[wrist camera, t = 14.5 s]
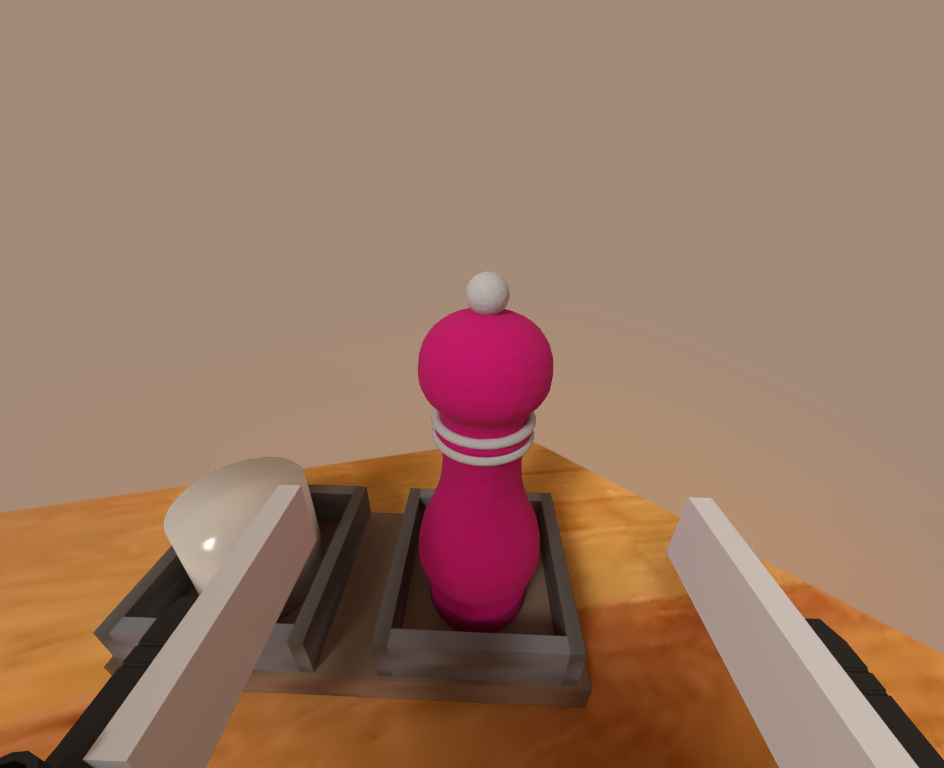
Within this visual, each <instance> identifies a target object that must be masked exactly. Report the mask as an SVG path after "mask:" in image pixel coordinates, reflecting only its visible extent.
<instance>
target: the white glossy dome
mask: <svg viewBox="0 0 944 768" xmlns="http://www.w3.org/2000/svg"><path fill="white" fill-rule="evenodd" d="M278 485H301V487H302V491H303V494H304V498H305V501H306V505H307V508H308V512H309V516H310V519H311V523H312V526H313V530H314V533H315V537H316V542H315V544H314V546H313V548H312V550H311V552H310V554H309V556H308V558H307V560H306V562H305V564H304V566H303V568H302V571H301V573H300V575H299V577H298V579H297V581H296V583H295V585H294V587H293V589H292V591H291V593H290V595H289V597H288V599H287V601H286V603H285V605H284V607H283V610H282V612H281V614H280V616H279V618H281V617H283V616H285V615H286V614H288V613H289V612H291V611H292V610H293V609H295V608H296V607H297V606H298V605H300V604H301V603H302V602H303V601H304V600H305V599H306V597H307V595H308V593H309V590H310V588H311V586H312V584H313V581H314V579H315V577H316V575H317V572H318V570H319V568H320V566H321V564H322V561H323V559H324V557H325V555H326V552H325V548H324V544H323V540H322V536H321V532H320V529H319V525H318V521H317V517H316V514H315V510H314V506H313V502H312V498H311V495H310V491H309V487H308V483H307V480H306V476H305V473H304V471H303V469H302V468H301V467H300V466H299V465H298V464H297V463H295V462H293V461H291V460H288V459H284V458H277V457H263V458H255V459H250V460H245V461H241V462H238V463H234V464H231V465H229V466H226V467H223V468H222V469H219V470H217V471H214V472H213V473H211V474H209V475H207V476H205V477H204V478H202V479H200V480H198V481H197V482H196V483H194V484H193V485H191V486H190V487H189V488H187V489H186V490H185V491H184V492H183V493H182V494H181V495H180V496H179V497H178V498H177V499H176V500H175V501H174V502H173V504H172V505H171V506H170V508H169V510H168V511H167V513H166V516H165V519H164V531H165V533H166V535H167V537H168V539H169V541H170V543H171V545H172V546H173V548H174V550H175V552H176V554H177V555H178V557H179V559H180V561H181V563H182V565H183V566H184V568H185V570H186V572H187V574H188V575H189V577H190V579H191V581H192V583H193V585H194V586H195V588H196V590H197V592H198V594H199V595H200V594H201V593H202V592H203V590H204V589H205V587H206V586H207V585H208V583H209V582H210V580H211V579H212V577H213V576H214V575H215V573H216V572H217V570H218V569H219V568H220V566H221V565H222V563H223V562H224V561H225V559H226V558H227V556H228V555H229V554H230V552H231V551H232V549H233V548H234V547H235V545H236V544H237V542H238V541H239V540H240V538H241V537H242V535H243V534H244V533H245V531H246V530H247V528H248V527H249V526H250V524H251V523H252V521H253V520H254V519H255V517H256V516H257V514H258V513H259V512H260V510H261V509H262V507H263V506H264V505H265V503H266V502H267V500H268V499H269V498H270V496H271V495H272V493H273V492H274V491H275V489H276V488H277V486H278ZM279 618H278V619H279Z"/></svg>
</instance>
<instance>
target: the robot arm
mask: <svg viewBox="0 0 944 768" xmlns="http://www.w3.org/2000/svg"><path fill="white" fill-rule="evenodd" d="M315 542H316V537H315V533H314V530H313V526H312V523H311V519H310V516H309V512H308V508H307V505H306V501H305V498H304V494H303V491H302V487H301V485H278V486H277V488H276V489H275V491H274V492H273V493H272V495H271V496H270V498H269V499H268V500H267V502H266V503H265V505H264V506H263V507H262V509H261V510H260V512H259V513H258V514H257V516H256V517H255V519H254V520H253V521H252V523H251V524H250V526H249V527H248V528H247V530H246V531H245V533H244V534H243V535H242V537H241V538H240V540H239V541H238V542H237V544H236V545H235V547H234V548H233V549H232V551H231V552H230V554H229V555H228V556H227V558H226V559H225V561H224V562H223V563H222V565H221V566H220V568H219V569H218V570H217V572H216V573H215V575H214V576H213V577H212V579H211V580H210V582H209V583H208V585H207V586H206V587H205V589H204V590H203V592H202V593H201V594H200V596H199V597H181V598H179V599H178V600H177V601H176V602H175V603H174V604H172V605H171V606H170V607H169V608H168V609H167V610H165V611H164V612H163V613H162V614H161V615H160V616H158V617H157V619H156V620H155V621H154V623H153V624H152V625H151V626H150V628H149V629H148V630H147V632H146V633H145V634H144V635H143V637H142V638H141V639H140V641H139V644H138V645H137V646H135V647H134V648H133V650H132V651H131V652H130V653H129V655H128V656H127V657H126V659H125V660H124V661H123V665H122V666H121V667H119V668H118V669H117V670H116V671H115V673H114V674H113V675H112V677H111V678H110V679H109V680H108V682H107V683H106V684H105V686H104V687H103V688H102V689H101V691H100V692H99V693H98V695H97V696H96V697H95V698H94V700H93V701H92V702H91V704H90V705H89V706H88V708H87V709H86V710H85V711H84V713H83V714H82V715H81V717H80V718H79V719H78V720H77V722H76V723H75V724H74V726H73V727H72V728H71V729H70V731H69V732H68V733H67V735H66V736H65V737H64V738H63V740H62V741H61V742H60V744H59V745H58V746H57V747H56V749H55V750H54V751H53V752H52V753H51V754H50V756H49V757H48V758H47V759H46V760H45V761H42V760H41V759H39V758H38V757H37V756H35V755H34V754H32V753H31V752H29V751H22V752H12V753H10V754H8V755H5V756H3V757H1V758H0V768H206V766H207V764H208V762H209V759H210V757H211V755H212V753H213V751H214V749H215V747H216V745H217V743H218V741H219V739H220V737H221V735H222V733H223V731H224V729H225V727H226V725H227V723H228V720H229V718H230V716H231V714H232V712H233V710H234V708H235V706H236V704H237V702H238V700H239V698H240V696H241V694H242V692H243V690H244V688H245V686H246V683H247V681H248V679H249V677H250V675H251V673H252V671H253V669H254V667H255V665H256V663H257V661H258V659H259V657H260V655H261V653H262V651H263V649H264V647H265V644H266V642H267V640H268V638H269V636H270V634H271V632H272V630H273V628H274V626H275V624H276V622H277V620H278V618H279V616H280V614H281V612H282V610H283V607H284V605H285V603H286V601H287V599H288V597H289V595H290V593H291V591H292V589H293V587H294V585H295V583H296V581H297V579H298V577H299V575H300V573H301V571H302V568H303V566H304V564H305V562H306V560H307V558H308V556H309V554H310V552H311V550H312V548H313V546H314V544H315ZM666 553H667V554H668V556H669V558H670V560H671V562H672V564H673V566H674V568H675V570H676V572H677V574H678V576H679V577H680V579H681V581H682V583H683V585H684V587H685V589H686V591H687V593H688V595H689V597H690V598H691V600H692V602H693V604H694V606H695V608H696V610H697V612H698V614H699V616H700V618H701V620H702V621H703V623H704V625H705V627H706V629H707V631H708V633H709V635H710V637H711V639H712V641H713V642H714V644H715V646H716V648H717V650H718V652H719V654H720V656H721V658H722V660H723V662H724V664H725V665H726V667H727V669H728V671H729V673H730V675H731V677H732V679H733V681H734V683H735V685H736V686H737V688H738V690H739V692H740V694H741V696H742V698H743V700H744V702H745V704H746V706H747V708H748V709H749V711H750V713H751V715H752V717H753V719H754V721H755V723H756V725H757V727H758V729H759V730H760V732H761V734H762V736H763V738H764V740H765V742H766V744H767V746H768V748H769V750H770V752H771V753H772V755H773V757H774V759H775V761H776V763H777V765H778V767H779V768H944V760H943V759H942V758H941V756H940V755H939V754H938V753H937V751H936V750H935V749H934V748H933V747H932V745H931V744H930V743H929V742H928V741H927V739H926V738H925V737H924V736H923V734H922V733H921V732H920V731H919V730H918V728H917V727H916V726H915V725H914V724H913V722H912V721H911V720H910V719H909V717H908V716H907V715H906V714H905V713H904V711H903V710H902V709H901V708H900V707H899V705H898V704H897V703H896V702H895V700H894V699H893V698H892V697H891V696H888V695H887V693H886V690H885V688H884V687H883V686H882V685H881V683H880V682H879V681H878V680H877V679H876V677H875V676H874V675H873V674H872V673H870V672H869V671H868V668H867V666H866V665H865V664H864V663H863V662H862V660H861V659H860V658H859V657H858V656H857V654H856V653H855V652H854V651H853V649H852V648H851V647H850V646H849V645H848V643H847V642H846V641H845V640H844V639H842V638H841V637H840V636H839V635H838V634H837V633H835V632H834V631H833V630H832V629H831V628H830V627H828V626H827V625H826V624H825V623H824V622H823V621H821V620H820V619H806V618H803V616H802V615H801V614H800V612H799V611H798V610H797V608H796V607H795V606H794V605H793V603H792V602H791V601H790V599H789V598H788V597H787V595H786V594H785V593H784V592H783V590H782V589H781V588H780V586H779V585H778V584H777V582H776V581H775V580H774V579H773V577H772V576H771V575H770V573H769V572H768V571H767V569H766V568H765V567H764V566H763V564H762V563H761V562H760V560H759V559H758V558H757V556H756V555H755V554H754V553H753V551H752V550H751V549H750V547H749V546H748V545H747V543H746V542H745V541H744V540H743V538H742V537H741V536H740V534H739V533H738V532H737V530H736V529H735V528H734V527H733V525H732V524H731V523H730V521H729V520H728V519H727V517H726V516H725V515H724V514H723V512H722V511H721V510H720V508H719V507H718V506H717V504H716V503H715V502H714V501H713V500H712V498H691V497H689V498H688V500H687V503H686V505H685V507H684V510H683V512H682V515H681V517H680V519H679V522H678V524H677V527H676V529H675V531H674V534H673V536H672V539H671V541H670V543H669V546H668V548H667V550H666Z"/></svg>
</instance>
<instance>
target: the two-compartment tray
mask: <svg viewBox="0 0 944 768" xmlns="http://www.w3.org/2000/svg"><path fill="white" fill-rule="evenodd" d="M308 487H309V491H310V495H311V498H312V502H313V506H314V510H315V514H316V517H317V521H318V525H319V529H320V532H321V536H322V540H323V544H324V548H325V552H326V555H325V557H324V559H323V561H322V564H321V566H320V568H319V570H318V572H317V575H316V577H315V579H314V581H313V584H312V586H311V588H310V590H309V593H308V595H307V597H306V599H305V600H304V601H303V602H302V603H301V604H300V605H298V606H297V607H296V608H295V609H293V610H292V611H291V612H289V613H288V614H286V615H285V616H283V617H281V618H279V619H278V620H277V622H276V624H275V626H274V628H273V630H272V632H271V634H270V636H269V638H268V640H267V642H266V644H265V647H264V649H263V651H262V653H261V655H260V657H259V659H258V661H257V663H256V665H255V667H254V669H253V671H252V673H251V675H250V677H249V679H248V681H247V683H246V686H245V688H244V690H243V691H252V692H273V693H294V694H315V695H335V696H356V697H377V698H397V699H418V700H439V701H460V702H480V703H501V704H522V705H543V706H563V707H584V708H585V707H586V704H587V701H588V699H589V696H590V693H591V691H592V690H591V685H590V680H589V676H588V671H587V667H586V662H585V660H586V657H587V653H586V649H585V644H584V640H583V635H582V631H581V626H580V622H579V617H578V613H577V609H576V604H575V600H574V595H573V591H572V586H571V582H570V577H569V573H568V569H567V564H566V560H565V555H564V551H563V546H562V542H561V537H560V533H559V529H558V524H557V520H556V515H555V511H554V506H553V502H552V497H551V493H526V495H527V497H528V500H529V502H530V504H531V506H532V508H533V510H534V512H535V515H536V519H537V523H538V528H539V532H540V551H539V560H538V565H537V568H536V570H535V573H534V575H533V576H532V578H531V580H530V581H529V583H528V584H527V585H526V591H525V598H524V602H523V605H522V607H521V609H520V611H519V613H518V614H517V616H516V617H515V618H514V619H513V620H512V621H511V622H510V623H509V624H508V625H507V626H505V627H503V628H502V629H500V630H498V631H496V632H493V633H480V632H462V631H459V630H458V629H456V628H454V627H452V626H451V625H449V624H448V623H447V622H446V621H445V620H444V619H443V618H442V617H441V616H440V614H439V613H438V612H437V610H436V608H435V606H434V604H433V601H432V598H431V592H430V580H429V579H428V577H427V575H426V573H425V571H424V569H423V567H422V564H421V560H420V554H419V535H420V527H421V523H422V519H423V516H424V512H425V509H426V507H427V505H428V503H429V501H430V499H431V497H432V495H433V494H434V492H435V490H436V489H413V488H411V490H410V494H409V497H408V501H407V505H406V509H405V513H404V514H393V513H371V511H370V505H369V499H368V493H367V487H358V486H331V485H308ZM199 596H200V595H199V594H198V592H197V590H196V588H195V586H194V585H193V583H192V581H191V579H190V577H189V575H188V574H187V572H186V570H185V568H184V566H183V565H182V563H181V561H180V559H179V557H178V555H177V554H176V552H175V550H174V548H173V546H171V547H170V548H169V549H168V550H167V552H166V553H165V554H164V555H163V556H162V557H161V558H160V559H159V560H158V562H157V563H156V564H155V565H154V566H153V567H152V568H151V569H150V570H149V572H148V573H147V574H146V575H145V576H144V577H143V578H142V579H141V580H140V581H139V583H138V584H137V585H136V586H135V587H134V588H133V589H132V590H131V591H130V593H129V594H128V595H127V596H126V597H125V598H124V599H123V600H122V601H121V603H120V604H119V605H118V606H117V607H116V608H115V609H114V610H113V611H112V612H111V614H110V615H109V616H108V617H107V618H106V619H105V620H104V621H103V622H102V624H101V625H100V626H99V627H98V628H97V629H96V630H95V631H94V632H93V633H94V634H95V636H96V637H97V638H98V639H99V640H100V641H101V642H102V643H103V645H104V646H105V647H106V648H107V649H108V650H109V651H110V652H111V654H112V655H113V657H112V658H111V659H110V660H109V662H108V663H107V664H106V665H105V667H104V668H105V669H106V670H107V671H108V672H109V673H110V674H111V675H113V674H114V673H115V671H116V670H117V669H118V668H119V667H121V666H122V665H123V661H124V660H125V659H126V657H127V656H128V655H129V653H130V652H131V651H132V650H133V648H134V647H135V646H137V645H138V644H139V641H140V639H141V638H142V637H143V635H144V634H145V633H146V632H147V630H148V629H149V628H150V626H151V625H152V624H153V623H154V621H155V620H156V619H157V617H158V616H160V615H161V614H162V613H163V612H164V611H165V610H167V609H168V608H169V607H170V606H171V605H172V604H174V603H175V602H176V601H177V600H178V599H179V598H181V597H199Z"/></svg>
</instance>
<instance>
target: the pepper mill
mask: <svg viewBox="0 0 944 768" xmlns="http://www.w3.org/2000/svg"><path fill="white" fill-rule="evenodd" d="M509 296H510V294H509V288H508V284H507V283H506V281H505V280H504V278H503V277H501V276H500V275H499V274H497V273H494V272H483V273H480V274H478V275H476V276H474V277H473V278H472V279H471V281H470V282H469V284H468V286H467V289H466V299H467V303H468V305H469V306H470V308H468V309H463V310H459V311H456V312H454V313H451V314H449V315H448V316H446V317H444V318H443V319H441V320H440V321H439V322H438V323H436V324H435V325H434V326H433V327H432V328H431V330H430V331H429V332H428V334H427V335H426V337H425V339H424V341H423V343H422V346H421V349H420V353H419V363H418V377H419V383H420V386H421V389H422V391H423V393H424V395H425V397H426V399H427V400H428V401H429V402H430V404H431V405H432V406H433V407H434V409H433V411H432V416H431V418H432V424H433V430H432V437H433V439H434V442H435V444H436V446H437V447H438V449H439V450H440V451H441V452H442V453H443V463H442V473H441V477H440V480H439V483H438V486H437V488H436V490H435V492H434V494H433V495H432V497H431V499H430V501H429V503H428V505H427V507H426V509H425V512H424V516H423V519H422V523H421V527H420V535H419V554H420V560H421V564H422V567H423V569H424V571H425V573H426V575H427V577H428V579H429V580H430V592H431V598H432V601H433V604H434V606H435V608H436V610H437V612H438V613H439V614H440V616H441V617H442V618H443V619H444V620H445V621H446V622H447V623H448V624H449V625H451V626H452V627H454V628H456V629H458V630H459V631H462V632H480V633H493V632H496V631H498V630H500V629H502V628H503V627H505V626H507V625H508V624H509V623H510V622H511V621H512V620H513V619H514V618H515V617H516V616H517V614H518V613H519V611H520V609H521V607H522V605H523V602H524V598H525V591H526V585H527V584H528V583H529V581H530V580H531V578H532V576H533V575H534V573H535V570H536V568H537V565H538V560H539V551H540V532H539V528H538V523H537V519H536V515H535V512H534V510H533V508H532V506H531V504H530V502H529V500H528V497H527V495H526V492H525V489H524V486H523V481H522V472H521V461H522V456H523V455H524V454H525V453H526V452H527V451H528V450H529V449H530V447H531V445H532V443H533V440H534V431H533V429H534V427H535V424H536V416H535V413H534V410H536V409H537V408H538V407H539V406H540V405H541V403H542V402H543V401H544V399H545V398H546V397H547V395H548V393H549V391H550V387H551V382H552V377H553V356H552V352H551V349H550V345H549V343H548V341H547V339H546V337H545V336H544V334H543V333H542V331H541V329H540V328H538V326H536V325H535V324H534V323H533V322H532V321H531V320H529V319H528V318H526V317H524V316H523V315H520V314H517V313H515V312H513V311H510V310H506V309H504V308H505V307H506V305H507V303H508V300H509Z"/></svg>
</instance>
